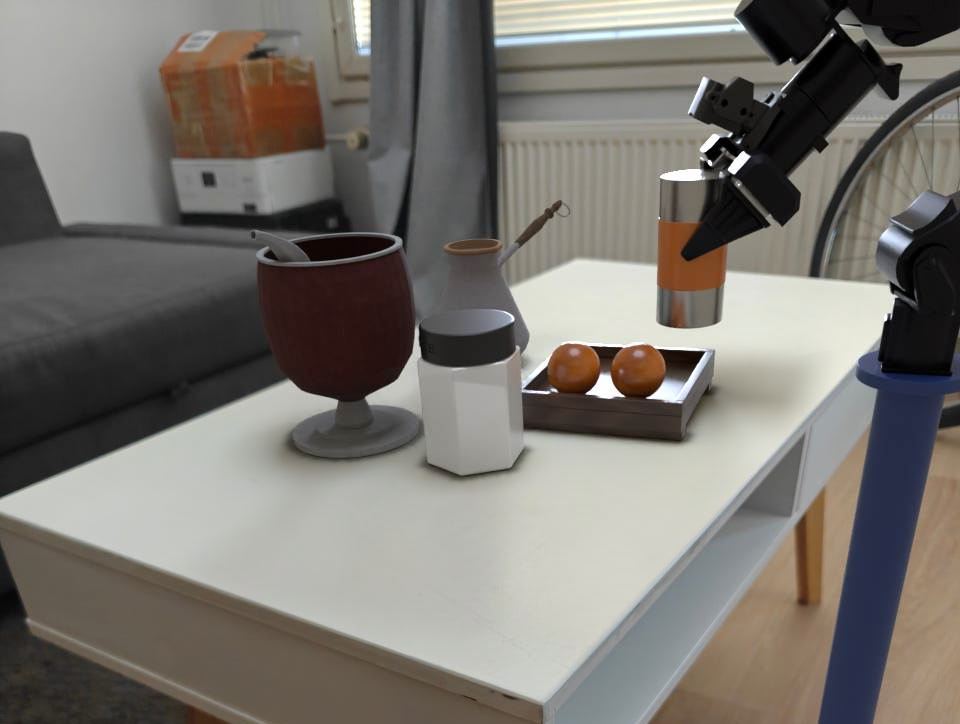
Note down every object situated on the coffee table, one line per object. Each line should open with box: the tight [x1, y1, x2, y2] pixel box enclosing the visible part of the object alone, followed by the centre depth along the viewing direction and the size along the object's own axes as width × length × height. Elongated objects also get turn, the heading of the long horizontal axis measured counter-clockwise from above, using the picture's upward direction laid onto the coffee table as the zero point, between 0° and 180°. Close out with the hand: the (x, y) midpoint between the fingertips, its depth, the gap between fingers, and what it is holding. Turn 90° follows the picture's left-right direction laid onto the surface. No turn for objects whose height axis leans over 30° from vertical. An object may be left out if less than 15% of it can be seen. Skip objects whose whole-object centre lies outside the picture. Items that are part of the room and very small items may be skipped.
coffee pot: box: [436, 199, 571, 356], centre depth 105 cm, size 21×12×15 cm, turn 137°
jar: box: [416, 309, 525, 477], centre depth 80 cm, size 9×8×12 cm
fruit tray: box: [521, 340, 716, 441], centre depth 89 cm, size 16×16×8 cm
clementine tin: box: [655, 168, 732, 330], centre depth 88 cm, size 6×6×13 cm
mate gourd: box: [249, 229, 420, 459], centre depth 84 cm, size 16×14×20 cm
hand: (678, 250), depth 88 cm, fingers closed on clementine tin, 6 cm apart
